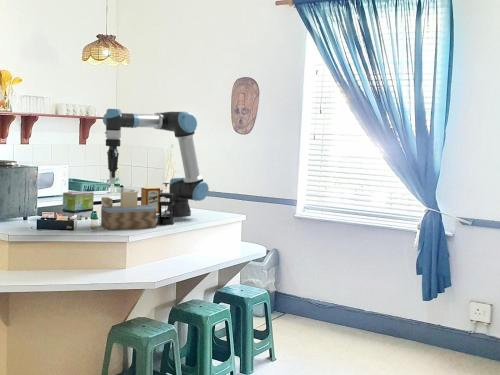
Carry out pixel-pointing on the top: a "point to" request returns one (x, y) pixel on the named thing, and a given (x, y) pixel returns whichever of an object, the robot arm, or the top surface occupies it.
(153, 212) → the brown woven basket
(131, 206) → the lid
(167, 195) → the french press
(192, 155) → the robot arm
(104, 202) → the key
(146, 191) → the baking soda box
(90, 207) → the tea box
